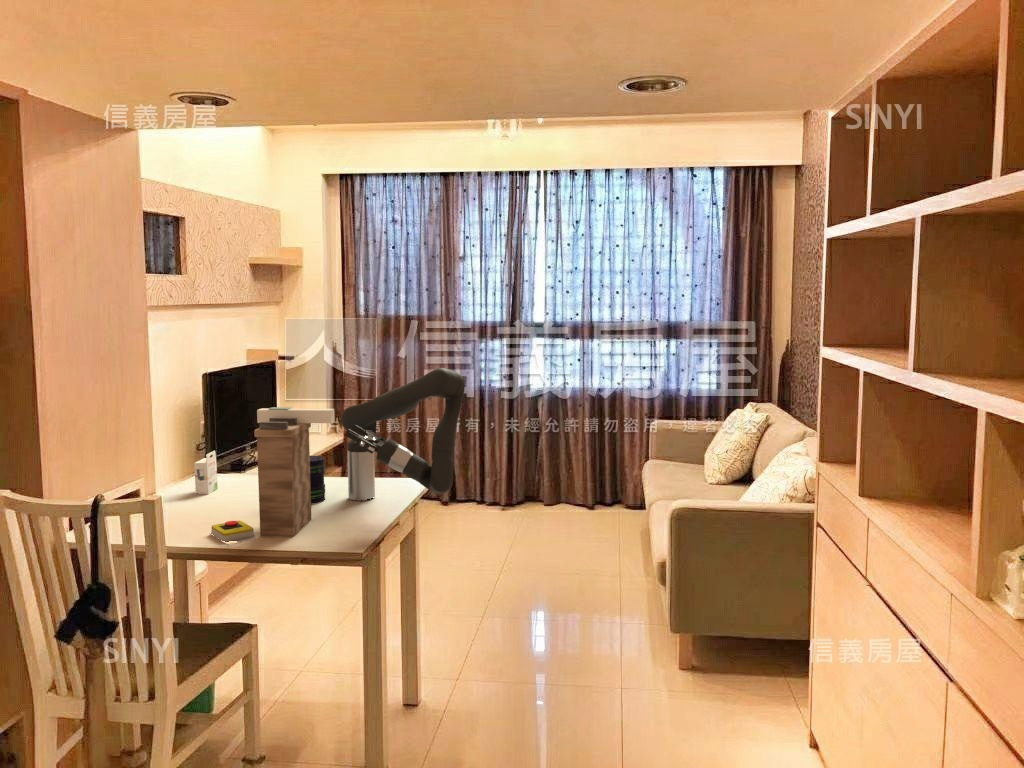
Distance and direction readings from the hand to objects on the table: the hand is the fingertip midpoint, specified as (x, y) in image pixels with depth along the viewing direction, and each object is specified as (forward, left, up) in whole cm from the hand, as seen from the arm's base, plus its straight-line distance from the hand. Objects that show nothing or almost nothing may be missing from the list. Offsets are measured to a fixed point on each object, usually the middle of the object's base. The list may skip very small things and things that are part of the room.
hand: (349, 429), depth 244 cm
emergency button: (+15, -32, -30) cm, 47 cm away
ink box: (-39, -63, -30) cm, 80 cm away
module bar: (0, -17, +2) cm, 17 cm away
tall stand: (+6, -19, -30) cm, 36 cm away
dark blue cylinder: (-28, -21, -30) cm, 46 cm away
